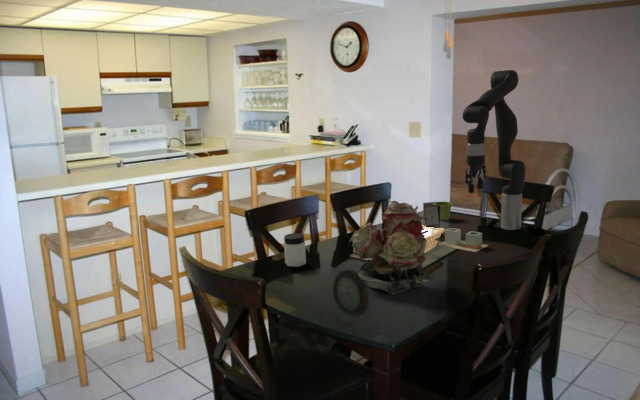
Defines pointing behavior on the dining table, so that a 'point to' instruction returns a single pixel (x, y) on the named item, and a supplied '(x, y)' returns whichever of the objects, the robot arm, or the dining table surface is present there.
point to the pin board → (462, 246)
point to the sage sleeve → (474, 240)
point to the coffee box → (431, 214)
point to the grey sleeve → (452, 236)
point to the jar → (294, 250)
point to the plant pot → (444, 210)
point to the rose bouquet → (393, 249)
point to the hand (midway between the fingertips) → (475, 190)
